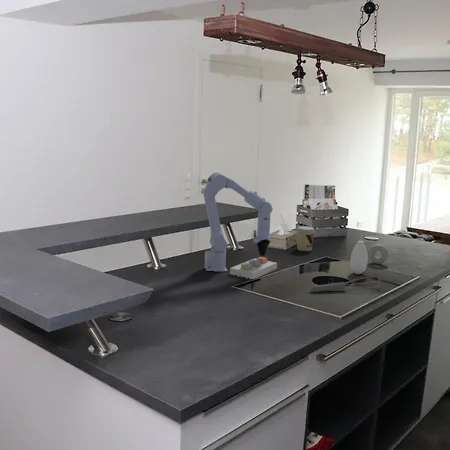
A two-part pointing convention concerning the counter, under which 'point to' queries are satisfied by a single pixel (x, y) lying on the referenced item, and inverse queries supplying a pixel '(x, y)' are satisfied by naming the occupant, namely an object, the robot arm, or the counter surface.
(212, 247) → the robot arm
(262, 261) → the terracotta button
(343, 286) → the kitchen whisk
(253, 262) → the slate blue button
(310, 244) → the coffee cup
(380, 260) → the donut
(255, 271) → the button panel
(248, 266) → the sage green button
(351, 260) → the sauce bottle
